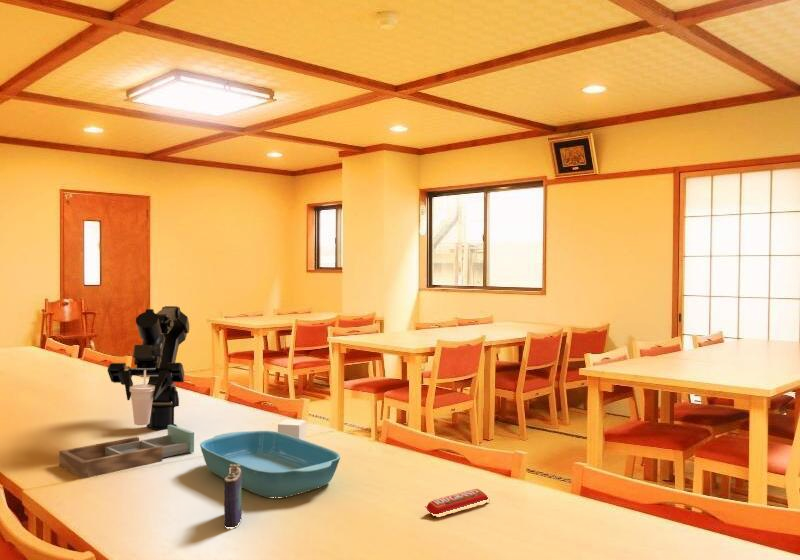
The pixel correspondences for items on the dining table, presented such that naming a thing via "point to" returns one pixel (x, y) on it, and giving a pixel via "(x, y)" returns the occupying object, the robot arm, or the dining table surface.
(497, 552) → the dining table surface
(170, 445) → the tray
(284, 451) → the casserole dish
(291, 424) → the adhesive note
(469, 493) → the candy bar
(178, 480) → the dining table surface
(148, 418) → the smoothie
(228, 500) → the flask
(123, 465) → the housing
